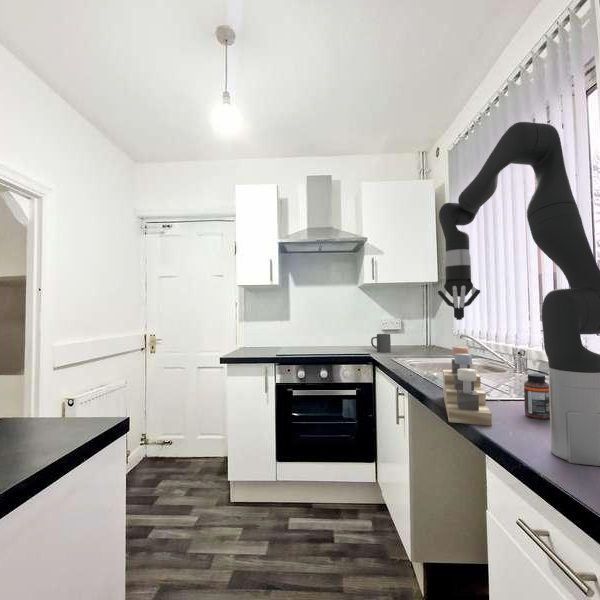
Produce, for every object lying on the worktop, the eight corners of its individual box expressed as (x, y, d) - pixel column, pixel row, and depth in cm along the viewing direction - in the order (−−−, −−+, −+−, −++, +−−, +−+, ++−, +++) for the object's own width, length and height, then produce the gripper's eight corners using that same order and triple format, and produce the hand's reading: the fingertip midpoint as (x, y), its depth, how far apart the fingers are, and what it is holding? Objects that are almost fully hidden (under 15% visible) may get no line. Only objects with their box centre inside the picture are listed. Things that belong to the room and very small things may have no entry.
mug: (387, 351, 252) (386, 333, 253) (393, 352, 243) (392, 334, 244) (368, 351, 250) (368, 334, 250) (374, 353, 241) (373, 335, 241)
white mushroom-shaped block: (478, 397, 94) (477, 371, 95) (458, 396, 96) (458, 370, 96) (475, 393, 99) (475, 368, 99) (457, 392, 100) (456, 368, 100)
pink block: (469, 370, 112) (468, 348, 112) (453, 369, 114) (452, 348, 114) (467, 367, 116) (467, 346, 117) (452, 367, 118) (451, 346, 118)
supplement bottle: (526, 412, 103) (525, 371, 103) (551, 415, 99) (550, 374, 99) (523, 417, 98) (521, 374, 98) (549, 421, 94) (548, 377, 95)
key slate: (473, 379, 103) (472, 355, 103) (455, 378, 105) (455, 355, 105) (471, 376, 107) (470, 353, 108) (454, 375, 109) (454, 353, 109)
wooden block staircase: (491, 425, 91) (490, 373, 92) (448, 422, 95) (447, 371, 95) (476, 399, 118) (475, 358, 118) (443, 396, 121) (442, 357, 121)
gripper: (436, 265, 115) (437, 320, 114) (482, 262, 110) (484, 320, 110) (435, 267, 122) (436, 319, 121) (479, 265, 117) (480, 319, 117)
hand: (459, 319), depth 116 cm, fingers closed
